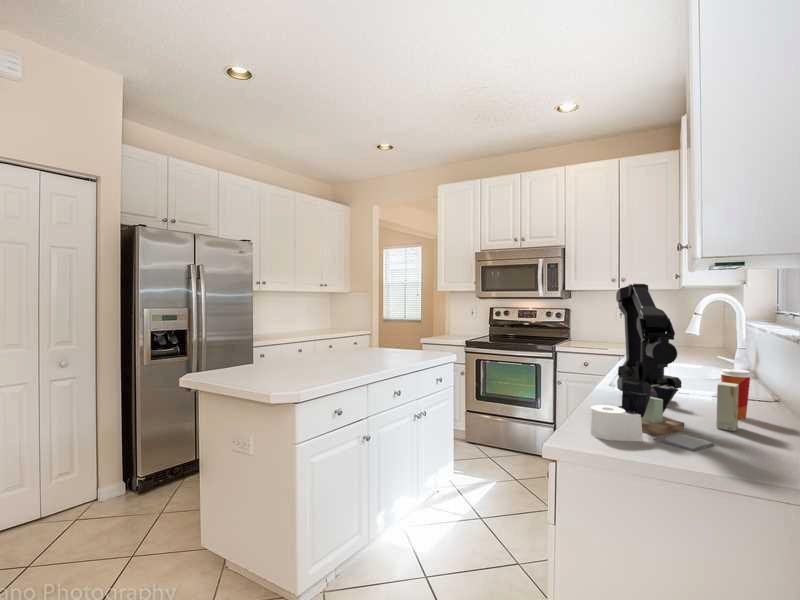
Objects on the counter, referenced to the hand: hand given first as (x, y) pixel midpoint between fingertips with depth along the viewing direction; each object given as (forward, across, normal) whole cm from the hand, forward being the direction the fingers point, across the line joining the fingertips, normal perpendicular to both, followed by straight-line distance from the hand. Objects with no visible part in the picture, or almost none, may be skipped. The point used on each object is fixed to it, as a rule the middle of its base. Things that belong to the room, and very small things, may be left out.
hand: (651, 415), depth 124 cm
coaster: (+3, +5, +12) cm, 13 cm away
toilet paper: (+4, +17, +1) cm, 17 cm away
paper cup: (+4, -34, +5) cm, 35 cm away
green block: (+3, 0, 0) cm, 3 cm away
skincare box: (+4, -19, +10) cm, 22 cm away
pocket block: (+3, 0, 0) cm, 3 cm away
